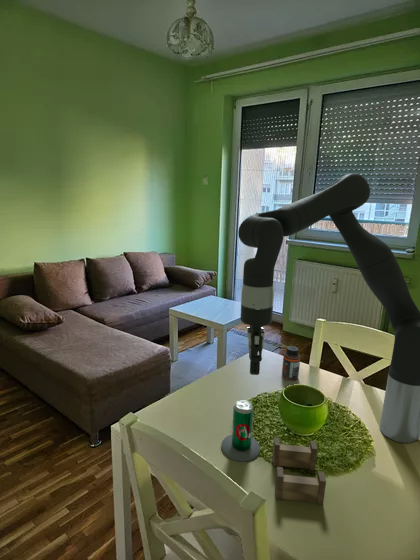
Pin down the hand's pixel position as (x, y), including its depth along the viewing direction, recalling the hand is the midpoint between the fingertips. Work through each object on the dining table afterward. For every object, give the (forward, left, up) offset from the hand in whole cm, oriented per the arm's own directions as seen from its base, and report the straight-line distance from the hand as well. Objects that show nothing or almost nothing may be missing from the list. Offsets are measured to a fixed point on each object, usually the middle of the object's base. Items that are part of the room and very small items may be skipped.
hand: (253, 365), depth 89 cm
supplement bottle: (-15, -40, -23) cm, 49 cm away
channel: (-11, +10, -23) cm, 27 cm away
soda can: (+2, 0, -23) cm, 23 cm away
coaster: (+2, +1, -23) cm, 23 cm away
